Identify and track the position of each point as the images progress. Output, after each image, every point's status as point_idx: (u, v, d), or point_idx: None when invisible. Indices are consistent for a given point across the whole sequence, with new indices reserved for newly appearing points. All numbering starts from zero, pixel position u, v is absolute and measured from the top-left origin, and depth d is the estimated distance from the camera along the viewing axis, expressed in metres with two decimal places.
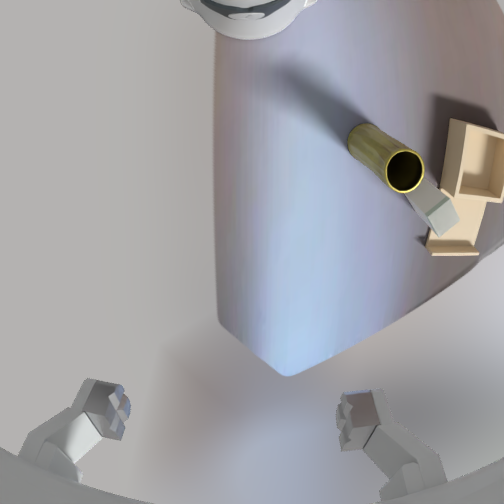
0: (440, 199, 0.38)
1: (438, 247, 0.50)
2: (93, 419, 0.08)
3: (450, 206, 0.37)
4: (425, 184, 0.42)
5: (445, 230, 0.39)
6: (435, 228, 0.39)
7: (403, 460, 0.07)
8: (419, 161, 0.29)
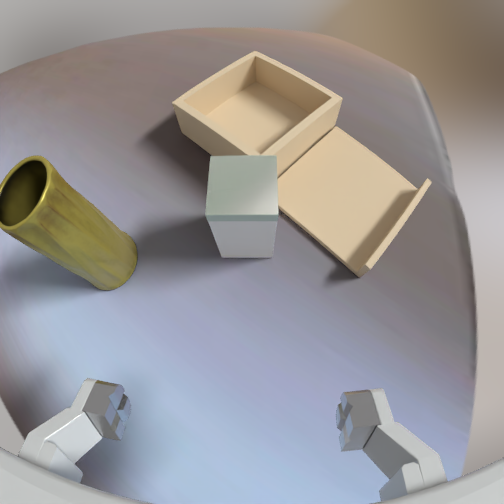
0: None
1: (372, 252, 0.26)
2: (93, 419, 0.08)
3: (227, 161, 0.20)
4: None
5: (272, 194, 0.19)
6: (247, 211, 0.19)
7: (403, 460, 0.07)
8: (40, 163, 0.15)
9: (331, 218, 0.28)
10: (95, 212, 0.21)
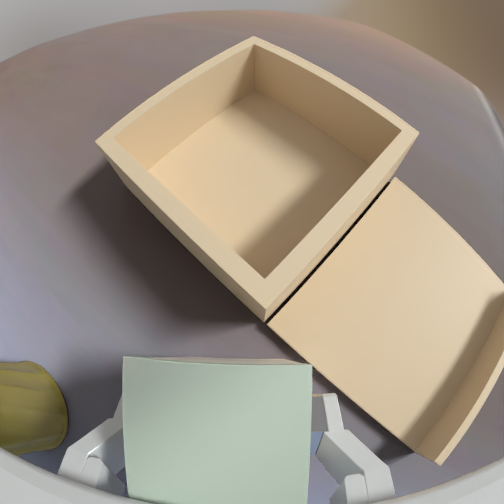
0: None
1: (443, 418, 0.12)
2: None
3: (168, 382, 0.07)
4: None
5: (294, 483, 0.06)
6: None
7: (351, 470, 0.07)
8: None
9: (387, 369, 0.14)
10: None
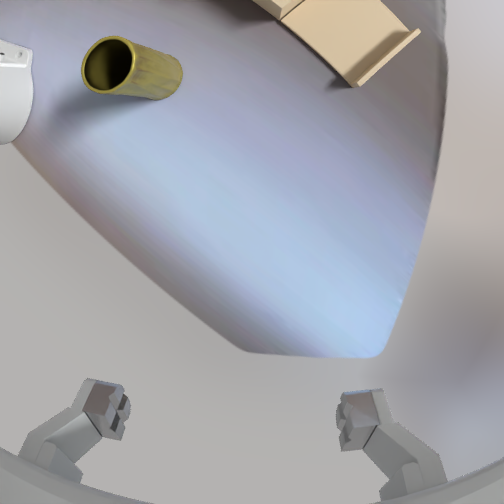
0: None
1: (364, 72, 0.30)
2: (93, 419, 0.08)
3: None
4: None
5: None
6: None
7: (403, 460, 0.07)
8: (115, 39, 0.19)
9: (334, 43, 0.29)
10: (157, 55, 0.24)
